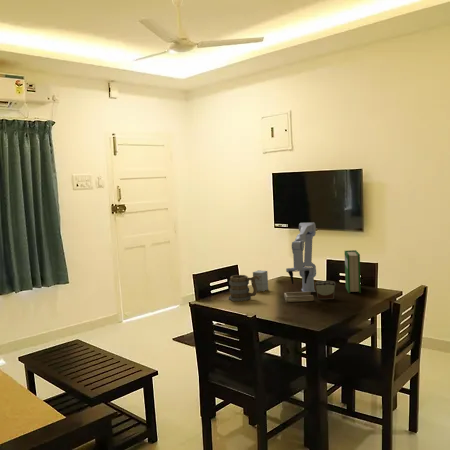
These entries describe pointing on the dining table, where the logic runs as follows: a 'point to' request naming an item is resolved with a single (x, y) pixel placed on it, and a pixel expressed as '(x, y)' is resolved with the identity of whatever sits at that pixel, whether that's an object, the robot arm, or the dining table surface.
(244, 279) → the tankard
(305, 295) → the open u-shaped wooden frame
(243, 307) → the dining table surface
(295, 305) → the dining table surface
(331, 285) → the food container
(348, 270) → the hardback book
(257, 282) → the supplement box
